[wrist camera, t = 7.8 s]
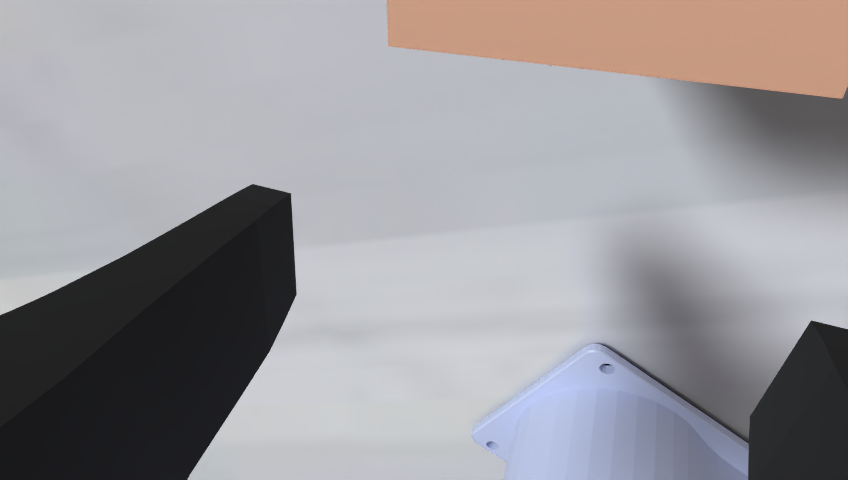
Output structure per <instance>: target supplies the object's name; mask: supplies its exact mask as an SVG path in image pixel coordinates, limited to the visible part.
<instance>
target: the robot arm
mask: <svg viewBox="0 0 848 480" xmlns="http://www.w3.org/2000/svg"><path fill="white" fill-rule="evenodd" d="M295 296H296V277H295V259H294V241H293V224H292V206H291V193H287V192H283V191H279V190H274V189H270V188H266V187H262V186H258V185H254V184H252V185H250V186H248V187H246V188H244V189H242V190H240V191H239V192H237V193H235V194H233V195H231V196H230V197H228V198H226V199H224V200H222V201H221V202H219V203H217V204H215V205H214V206H212V207H210V208H208V209H207V210H205V211H203V212H202V213H200V214H198V215H196V216H195V217H193V218H191V219H189V220H188V221H186V222H184V223H182V224H181V225H179V226H177V227H175V228H174V229H172V230H170V231H168V232H166V233H165V234H163V235H161V236H159V237H157V238H156V239H154V240H152V241H150V242H148V243H147V244H145V245H143V246H141V247H139V248H138V249H136V250H134V251H132V252H131V253H129V254H127V255H125V256H123V257H121V258H119V259H117V260H115V261H113V262H111V263H109V264H107V265H105V266H103V267H101V268H99V269H97V270H95V271H93V272H91V273H89V274H87V275H85V276H83V277H81V278H79V279H78V280H76V281H74V282H72V283H70V284H68V285H66V286H64V287H62V288H60V289H58V290H56V291H54V292H52V293H49V294H47V295H45V296H43V297H41V298H39V299H37V300H34V301H32V302H30V303H28V304H25V305H23V306H21V307H19V308H16V309H14V310H12V311H9V312H7V313H5V314H2V315H0V480H187V479H188V477H189V475H190V474H191V472H192V471H193V469H194V467H195V466H196V464H197V463H198V461H199V460H200V458H201V457H202V455H203V454H204V452H205V451H206V449H207V448H208V446H209V444H210V443H211V441H212V440H213V438H214V437H215V435H216V434H217V432H218V431H219V429H220V428H221V426H222V424H223V423H224V421H225V420H226V418H227V417H228V415H229V414H230V412H231V411H232V409H233V408H234V406H235V405H236V403H237V401H238V400H239V398H240V397H241V395H242V394H243V392H244V391H245V389H246V387H247V386H248V384H249V383H250V381H251V380H252V378H253V377H254V375H255V373H256V372H257V370H258V369H259V367H260V366H261V364H262V362H263V361H264V359H265V358H266V356H267V354H268V353H269V351H270V349H271V347H272V345H273V343H274V341H275V339H276V337H277V335H278V333H279V331H280V329H281V327H282V325H283V323H284V320H285V318H286V316H287V314H288V312H289V310H290V307H291V305H292V303H293V301H294V299H295ZM604 364H610V365H611V366H606V365H604ZM471 437H472V439H473V441H475V442H476V443H477V444H479V445H480V446H482V447H483V448H485V449H486V450H488V451H490V452H491V453H493V454H494V455H496V456H498V457H499V458H501V459H502V460H504V461H506V462H507V465H506V470H505V474H504V479H503V480H848V329H844V328H840V327H836V326H832V325H828V324H823V323H819V322H815V321H811V322H810V323H809V325H808V326H807V328H806V330H805V331H804V333H803V334H802V336H801V337H800V339H799V341H798V342H797V344H796V345H795V347H794V348H793V350H792V352H791V353H790V355H789V356H788V358H787V359H786V361H785V363H784V364H783V366H782V367H781V369H780V370H779V372H778V374H777V375H776V377H775V378H774V380H773V381H772V383H771V385H770V386H769V388H768V389H767V391H766V392H765V394H764V396H763V397H762V399H761V400H760V402H759V403H758V405H757V407H756V408H755V410H754V411H753V413H752V414H751V416H750V430H749V444H748V443H747V442H745V441H744V440H742V439H741V438H739V437H738V436H736V435H735V434H733V433H732V432H730V431H729V430H728V429H726V428H725V427H723V426H722V425H720V424H719V423H717V422H716V421H714V420H713V419H711V418H710V417H708V416H707V415H705V414H704V413H702V412H701V411H700V410H698V409H697V408H695V407H694V406H692V405H691V404H689V403H688V402H686V401H685V400H683V399H682V398H680V397H679V396H677V395H676V394H675V393H673V392H672V391H670V390H669V389H667V388H666V387H664V386H663V385H661V384H660V383H658V382H657V381H655V380H654V379H652V378H651V377H649V376H648V375H647V374H645V373H644V372H642V371H641V370H639V369H638V368H636V367H635V366H633V365H632V364H630V363H629V362H627V361H626V360H624V359H623V358H621V357H620V356H619V355H617V354H616V353H614V352H613V351H611V350H610V349H608V348H607V347H605V346H603V345H600V344H589V345H587V346H585V347H584V348H582V349H581V350H580V351H578V352H577V353H575V354H574V355H573V356H571V357H570V358H568V359H567V360H566V361H564V362H563V363H562V364H560V365H559V366H557V367H556V368H555V369H553V370H552V371H550V372H549V373H548V374H546V375H545V376H544V377H542V378H541V379H539V380H538V381H537V382H535V383H534V384H532V385H531V386H530V387H528V388H527V389H525V390H524V391H523V392H521V393H520V394H519V395H517V396H516V397H514V398H513V399H512V400H510V401H509V402H507V403H506V404H505V405H503V406H502V407H501V408H499V409H498V410H496V411H495V412H494V413H492V414H491V415H489V416H488V417H487V418H485V419H484V420H482V421H481V422H480V423H478V424H477V425H476V426H474V428H473V430H472V434H471Z"/></svg>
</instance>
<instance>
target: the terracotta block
mask: <svg viewBox="0 0 848 480" xmlns="http://www.w3.org/2000/svg"><path fill="white" fill-rule="evenodd" d="M387 20H388V44H389V46H391V47H400V48H408V49H417V50H426V51H434V52H443V53H452V54H460V55H469V56H477V57H486V58H495V59H503V60H512V61H521V62H529V63H538V64H547V65H555V66H564V67H572V68H581V69H590V70H598V71H607V72H616V73H624V74H633V75H641V76H650V77H659V78H667V79H676V80H685V81H693V82H702V83H711V84H719V85H728V86H736V87H745V88H754V89H762V90H771V91H780V92H788V93H797V94H805V95H814V96H823V97H831V98H840V99H842V98H843V96H844V94H845V91H846V89H847V87H848V0H387Z"/></svg>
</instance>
